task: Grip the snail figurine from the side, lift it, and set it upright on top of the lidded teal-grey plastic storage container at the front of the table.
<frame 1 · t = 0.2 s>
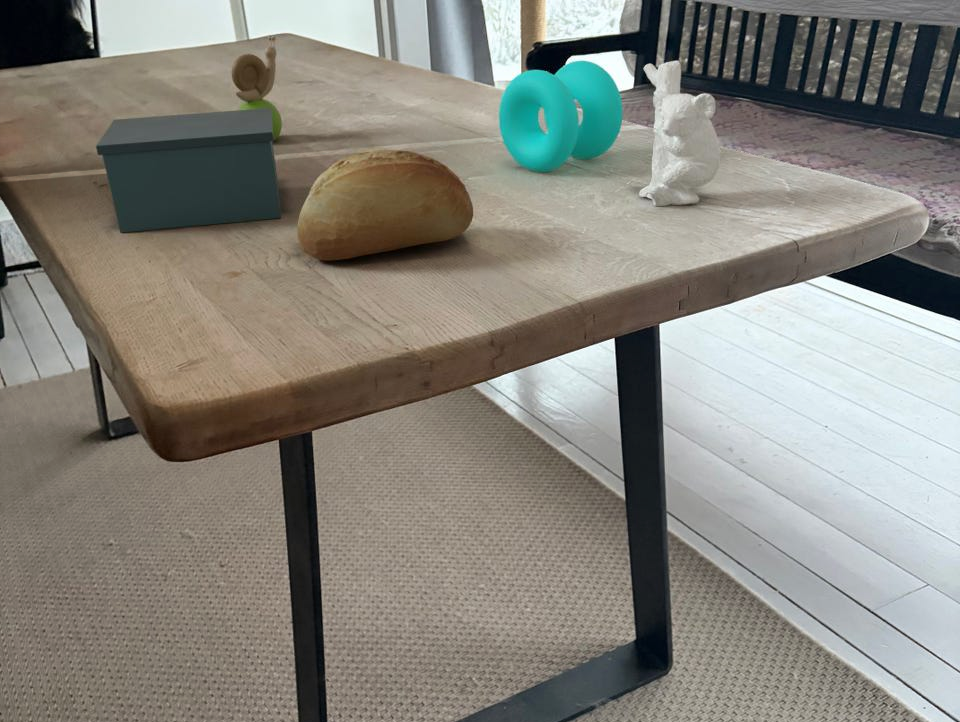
donuts: (560, 166, 102), on the table
koala figurine: (671, 203, 89), on the table
container: (204, 208, 92), on the table
bread roll: (391, 251, 79), on the table
snail figurine: (265, 146, 116), on the table
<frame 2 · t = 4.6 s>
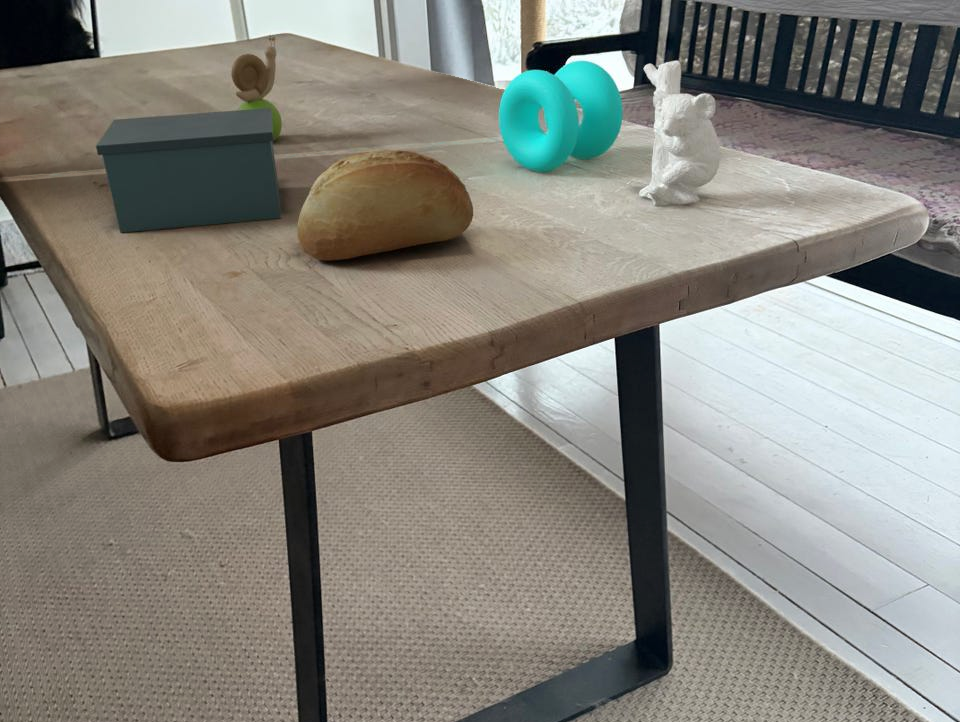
nothing on the table moved.
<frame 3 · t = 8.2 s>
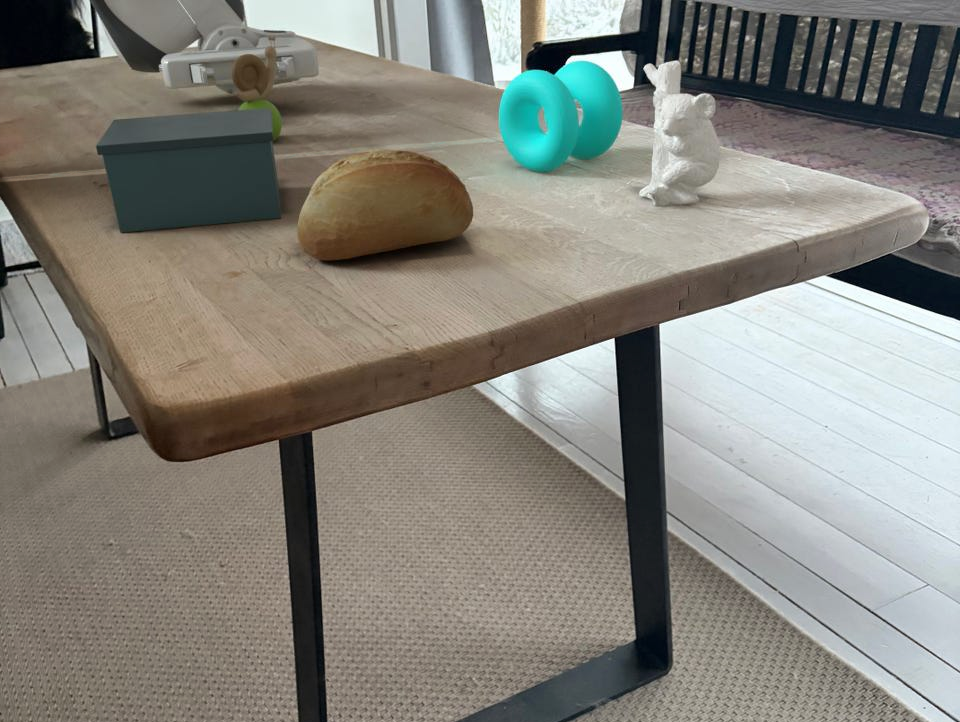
hand: (246, 73, 121), 7 cm above the table, tool horizontal, fingers open, 8 cm apart
nothing on the table moved.
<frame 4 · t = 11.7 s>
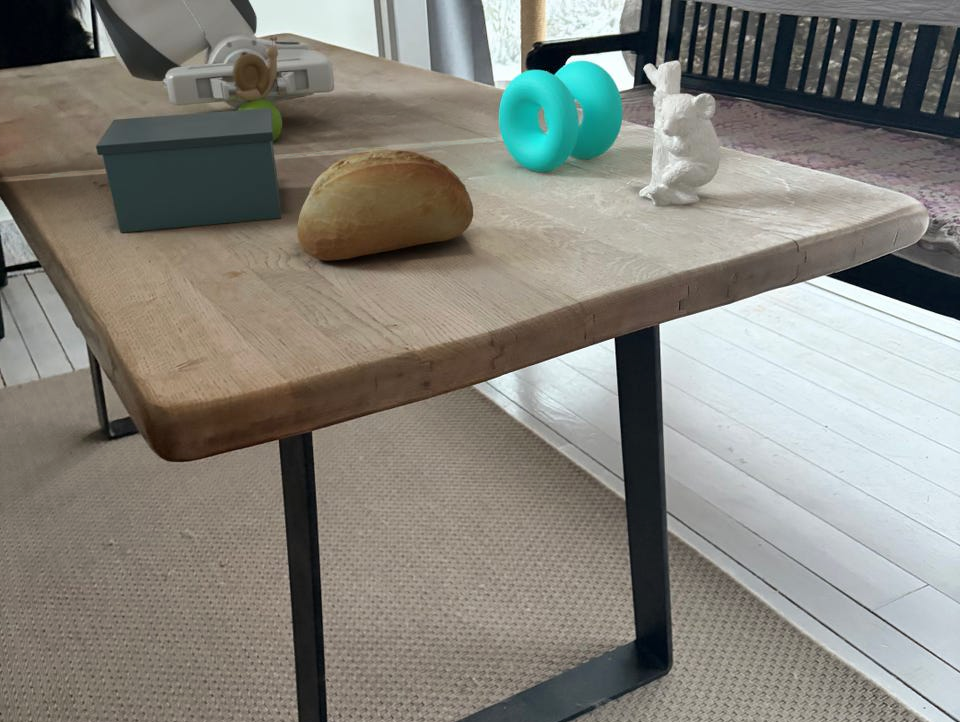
hand: (258, 89, 112), 7 cm above the table, tool horizontal, fingers closed on snail figurine, 5 cm apart
snail figurine: (265, 146, 116), on the table, touching gripper
everything else where it was.
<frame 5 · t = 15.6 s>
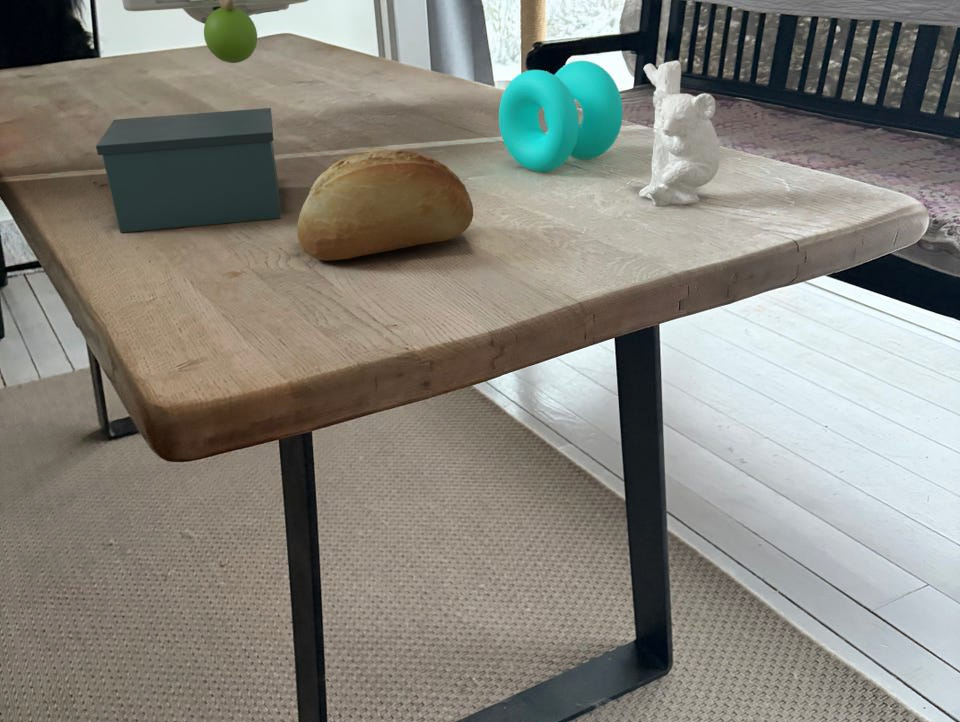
snail figurine: (233, 63, 102), point 11 cm above the table, touching gripper
everything else where it was.
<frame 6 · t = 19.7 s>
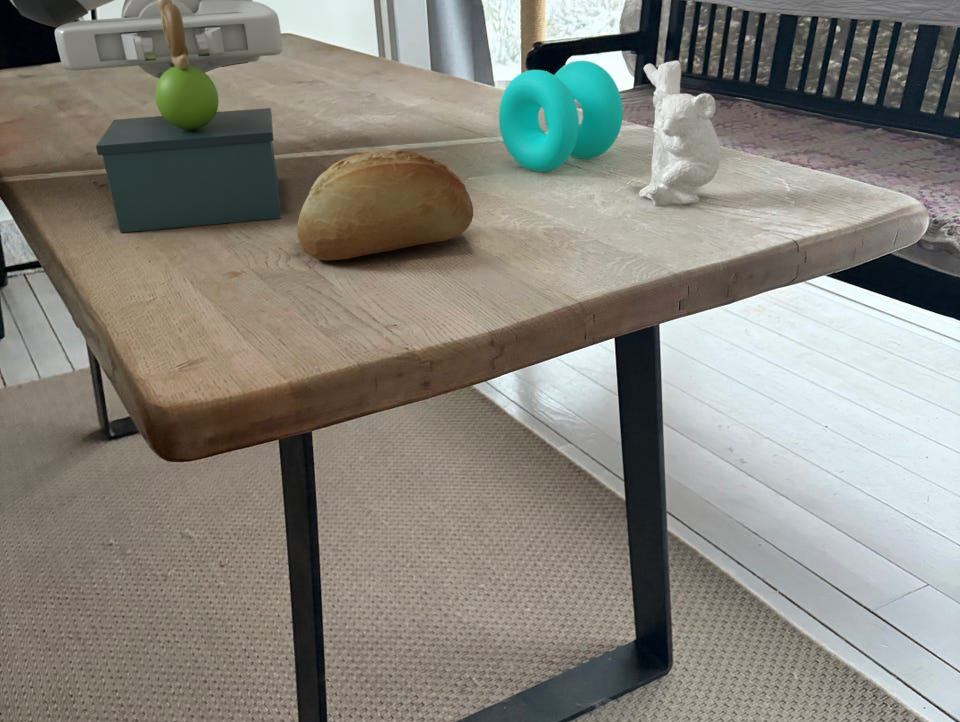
hand: (175, 48, 84), 15 cm above the table, tool horizontal, fingers open, 4 cm apart
snail figurine: (192, 130, 87), point 8 cm above the table, touching container
everything else where it was.
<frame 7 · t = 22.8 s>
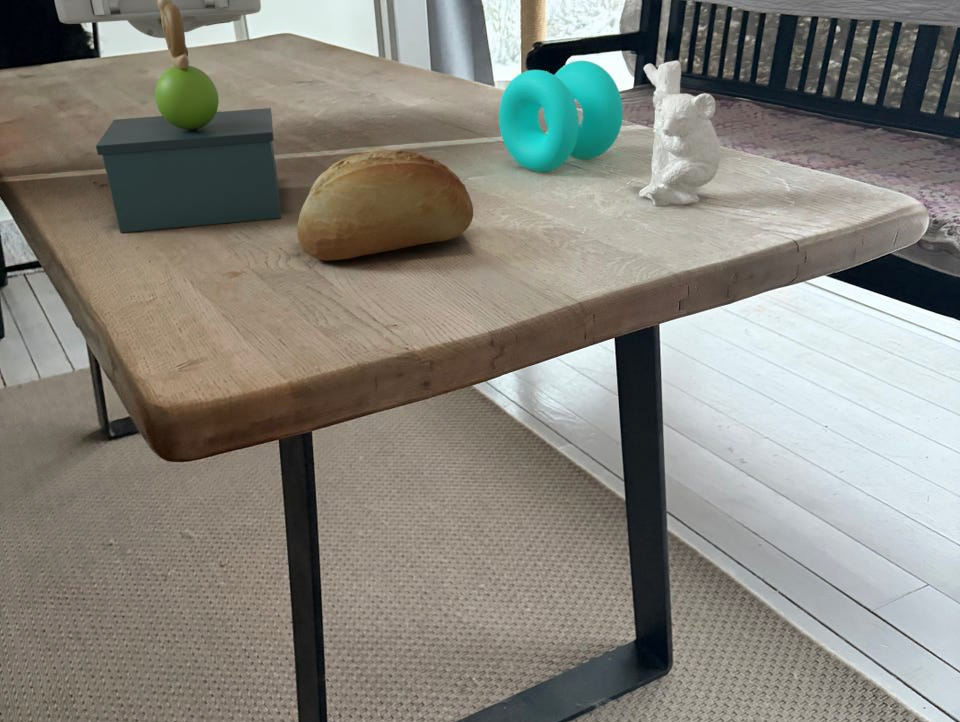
hand: (162, 2, 93), 17 cm above the table, tool horizontal, fingers open, 8 cm apart
nothing on the table moved.
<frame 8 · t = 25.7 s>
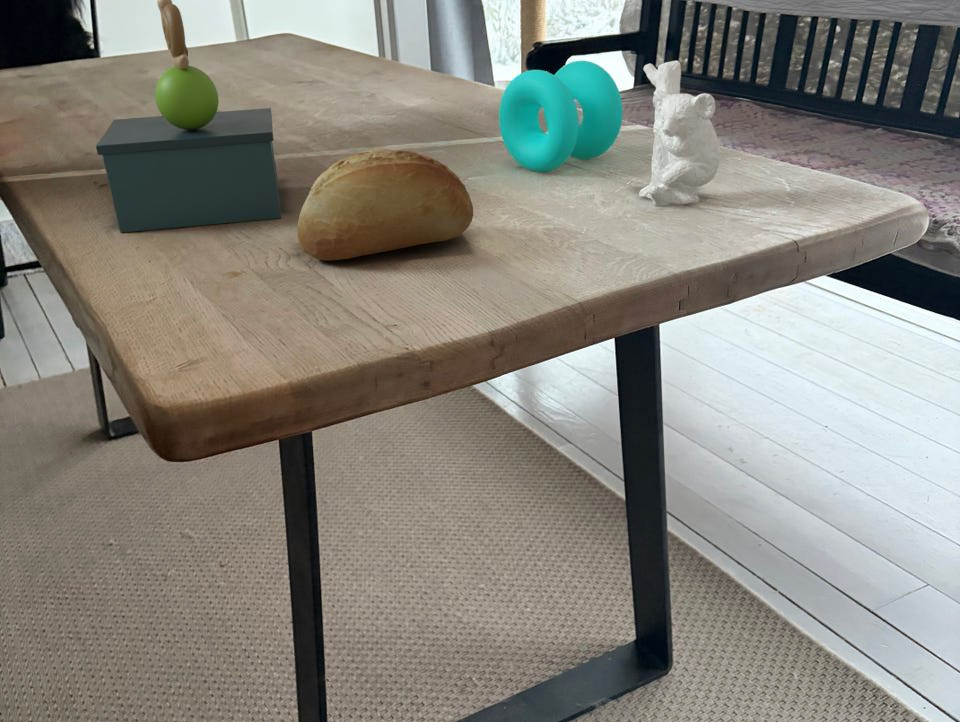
nothing on the table moved.
at the end: snail figurine inside the target area on the container (1.5 cm from its centre), point 7.6 cm above the container's base; snail figurine tilted 0°; the gripper is holding nothing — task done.
